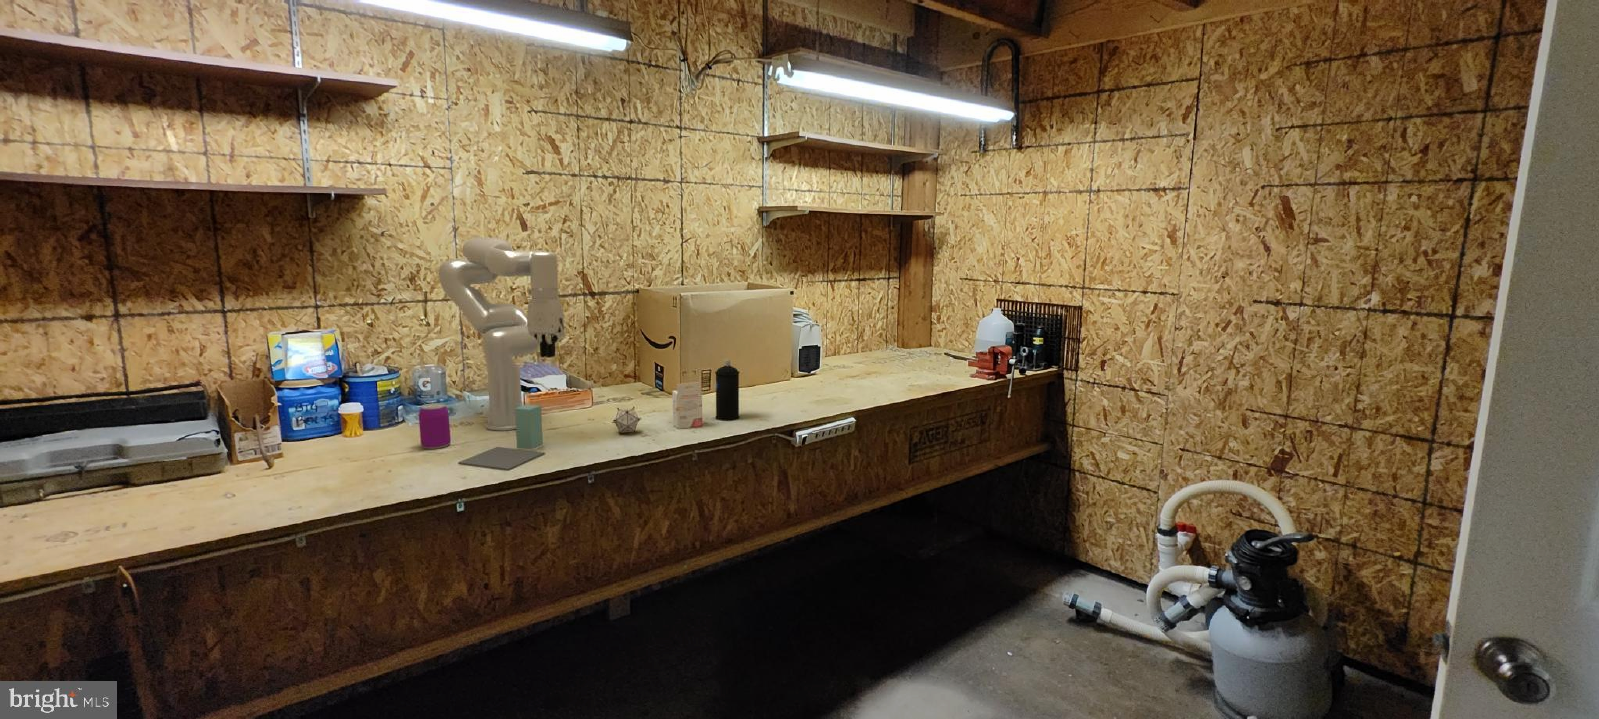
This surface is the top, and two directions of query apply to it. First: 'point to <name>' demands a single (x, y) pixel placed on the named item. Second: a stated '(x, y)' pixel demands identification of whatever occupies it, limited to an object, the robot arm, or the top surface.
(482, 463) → the mat
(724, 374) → the aerosol can
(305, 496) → the top surface
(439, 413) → the beverage can
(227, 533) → the top surface
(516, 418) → the teal block
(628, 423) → the game die
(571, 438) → the top surface
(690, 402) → the ink cartridge box
